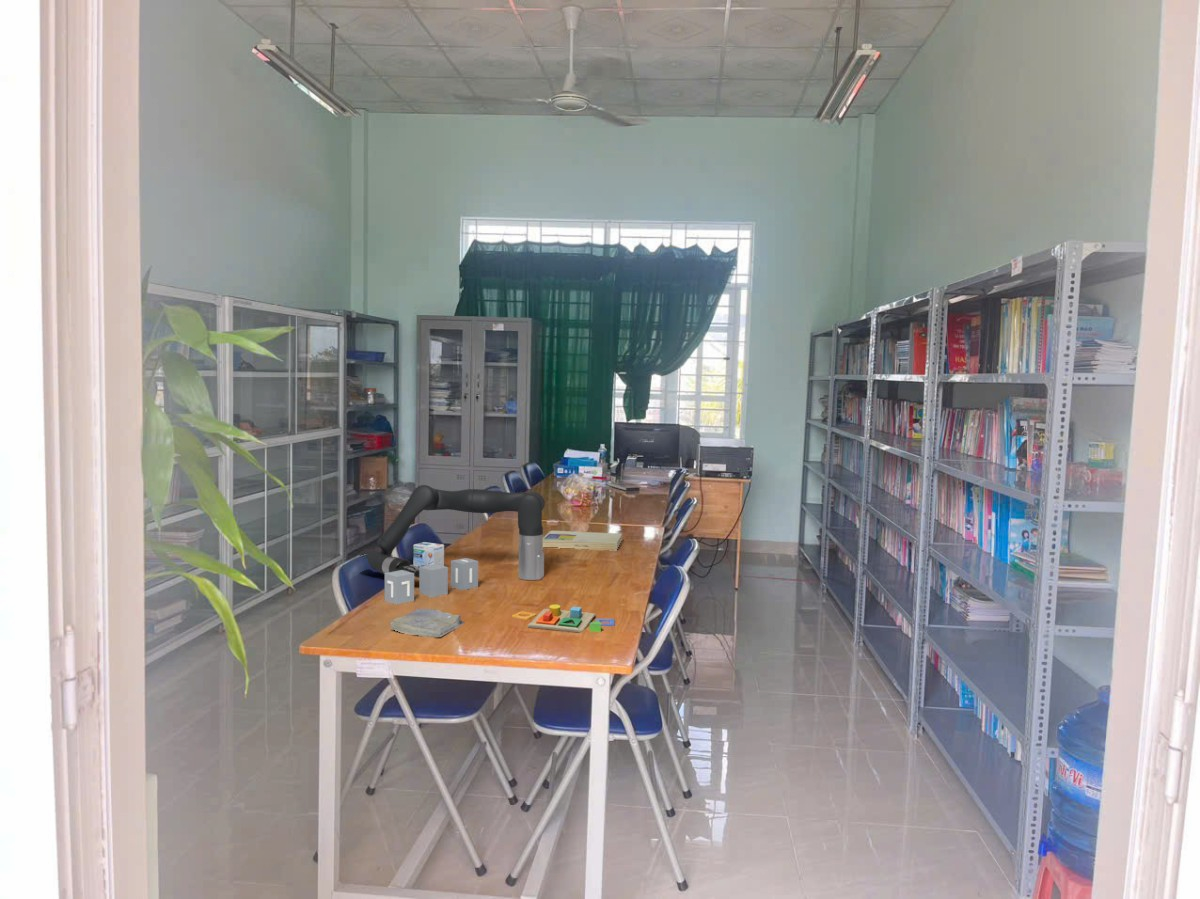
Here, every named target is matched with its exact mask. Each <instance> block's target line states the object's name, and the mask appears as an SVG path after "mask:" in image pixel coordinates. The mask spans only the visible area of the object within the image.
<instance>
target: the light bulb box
mask: <svg viewBox="0 0 1200 899" xmlns="http://www.w3.org/2000/svg"><path fill="white" fill-rule="evenodd" d="M412 557H413V558H412V559H413V560H412V561H413V564H412V565H414V566H417V567H418V568H419V567H420V566H422V565H424V566H427V565H432V564H438V565H442V566H445V565H444V564H445V544H441V543H433V542H428V541H427V542H426V541H423V542H419V543H415V544H413V556H412Z"/></svg>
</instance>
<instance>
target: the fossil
mask: <svg viewBox="0 0 1200 899" xmlns="http://www.w3.org/2000/svg"><path fill="white" fill-rule="evenodd" d="M464 624H465V621H462V617H461V615H460V614H452V613H450V612H443V610H440V609H434V608H433V609H432V608H420V607H419V608H417V609H415V610H413V611H411V612H409V613H407V614H405V615H402V616H399V617H395V618H393V619H392V620H391V622H390V629H391V630H392V631H394V630H395V632H396V631H398V632H397V633H399V632H402V633H405V634H412V635H419V636H418V637H420V636H425V637H424V638H429V637H435V638H434V639H436V638H441V637H444V636H445V635H447V634H448V633H451V632H452V631H454V630H457V629H458V628H460V627H461V626H463V625H464ZM405 634H404V635H405Z"/></svg>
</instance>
